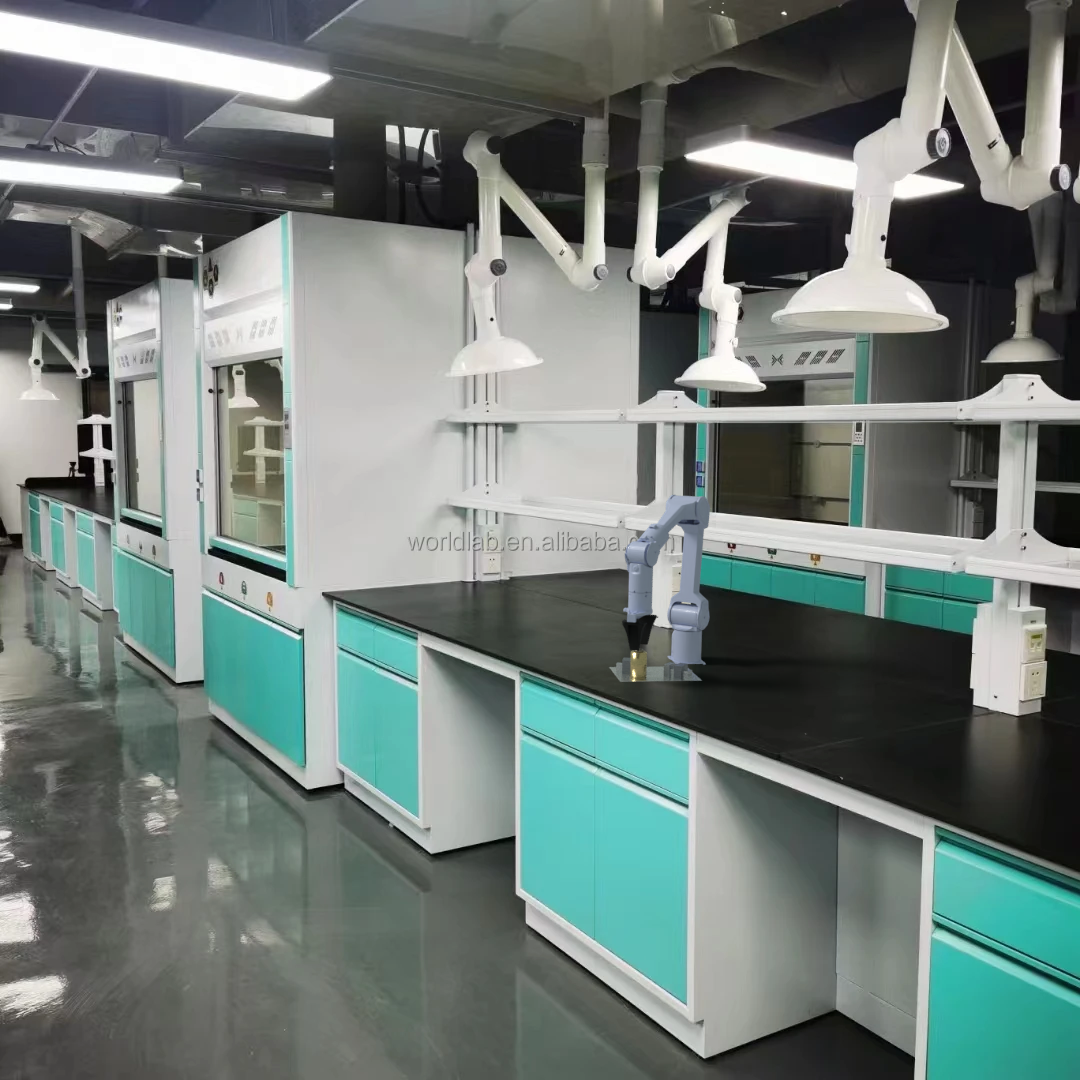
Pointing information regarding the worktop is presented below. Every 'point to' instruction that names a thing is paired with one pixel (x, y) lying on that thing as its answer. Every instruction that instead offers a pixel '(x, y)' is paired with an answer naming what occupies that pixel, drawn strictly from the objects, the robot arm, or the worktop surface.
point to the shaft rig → (656, 672)
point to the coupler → (638, 665)
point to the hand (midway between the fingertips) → (638, 647)
